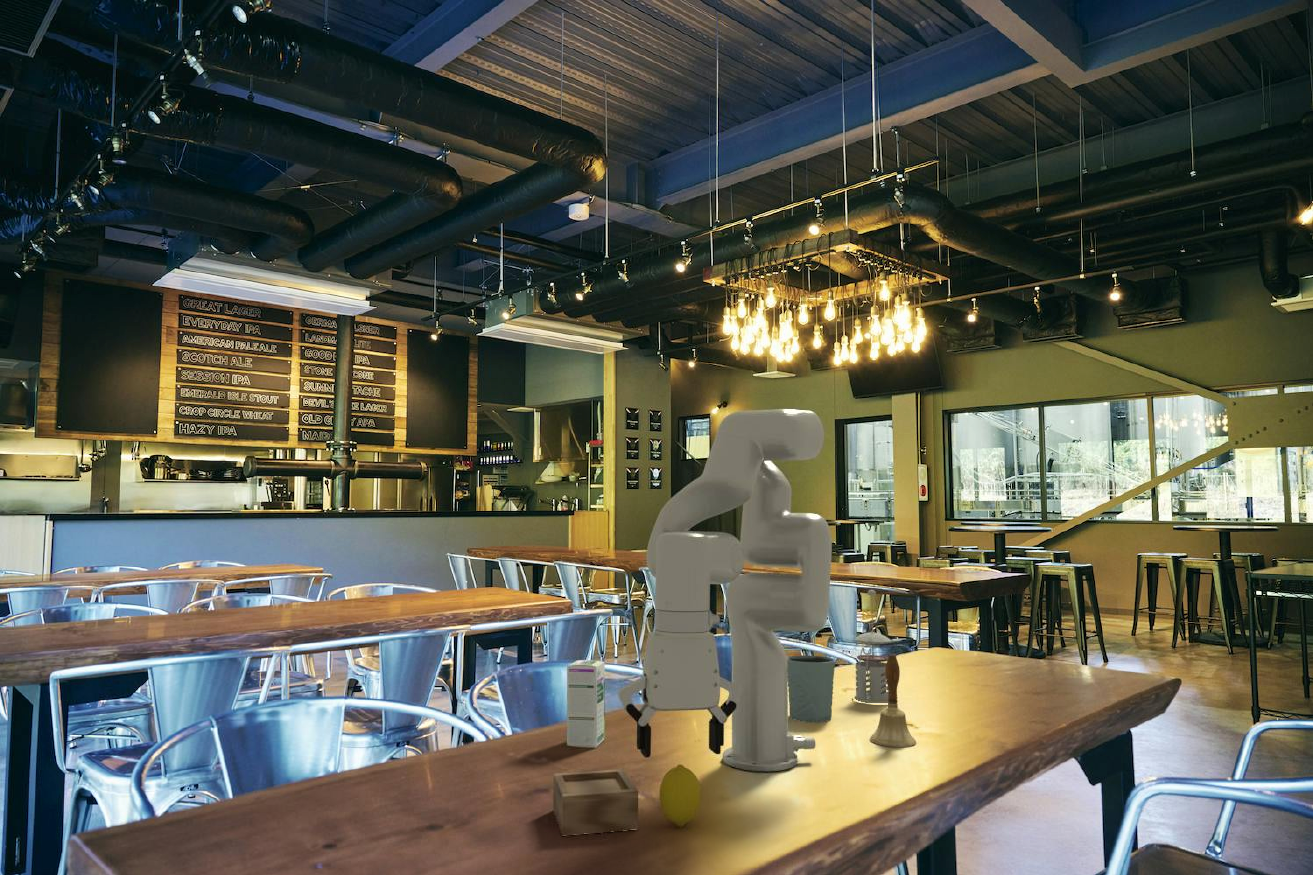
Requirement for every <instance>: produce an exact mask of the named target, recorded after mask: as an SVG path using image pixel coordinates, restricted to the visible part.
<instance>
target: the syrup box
mask: <svg viewBox="0 0 1313 875" xmlns="http://www.w3.org/2000/svg"><path fill="white" fill-rule="evenodd" d="M605 670H606V669H605V661H604V660H596V659H581V660H579V659H578V660H575V661H574V662H572V663H570V664H568V665H567V666H566V746H569V747H574V748H575V747H576V748H577V747H578V748H590V749H591V748H593V749H594V748H598V746H599V745H601V743H602V742H604V741H605V740H606V695H605V694H606V692H605V691H606V689H605V688H606V687H605V686H606V684H605V683H606V682H605V681H606V680H605V679H606V678H605V677H606V676H605V675H606V674H605Z"/></svg>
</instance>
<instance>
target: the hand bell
mask: <svg viewBox="0 0 1313 875" xmlns="http://www.w3.org/2000/svg"><path fill="white" fill-rule="evenodd" d="M887 657H888V660H887V661H886V662H885V663H886V668H885V674H886V681H887V684H888V685H887V684H886V685H887V686H888V690H887V692H888V705H887V708H884V709H882V710H880V713H879V714H880V716H879V722H878V726H877V728H876V730H875V732H873V734H871V736H870V738H869V740H870V742H872V743H874V744H876V745H880V746H884V747H888V748H910V747H914V746H916V745H917V741H916V739H915V738H914V736H912V734H911V732H910V731H909V728H908V724H907V719H906V718H907V717H906V714H905V712H904V711H902V710H901V709H899V707H898V685H899V682H900V676H901V674H900V672H901V671H900V665H899V661H898V659H897V655H896V653H888V656H887Z"/></svg>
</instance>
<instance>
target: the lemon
mask: <svg viewBox="0 0 1313 875" xmlns="http://www.w3.org/2000/svg"><path fill="white" fill-rule="evenodd" d="M659 786H660V787H659V803H660V804H659V805H660V809H661V810H662V813H663V815H664V816H665V817H666V818H667V819H668V820H670V821H671V822H673V823H674V824H676V826H677V827H679V826H681V827H683V826H684V825H685V824H686V823H687V822H689V821H691V820H692V819H694V818H695V816H696V815H697V813H698V812H699V809H700V806H701V805H700V804H701V800H702V799H701V798H702V797H701V796H702V795H701V794H702V793H701V787H700V786H701V785H700V783H699V780H698V778H697V776H696V774H695V773H694V772H693V771H692V770H691V769H689V768H687V767H685V766H684V765H683V764H678V765H676V767H673V768H671V769H669V770H668V771H667V772H666V773H665V774H664V776H663V778H662V780H661V783H660V785H659Z"/></svg>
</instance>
